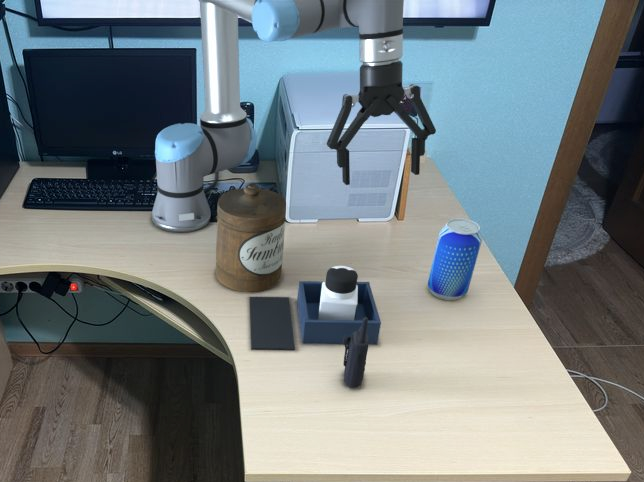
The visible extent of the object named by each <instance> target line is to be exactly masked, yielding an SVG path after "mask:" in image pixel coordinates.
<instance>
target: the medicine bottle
mask: <svg viewBox="0 0 644 482" xmlns="http://www.w3.org/2000/svg"><path fill="white" fill-rule="evenodd" d="M358 277H359V275H358V273H357V271H356V270H355V269H354V268H352V267H349V266H347V265H335V266H332V267H330V268H328V270H326V273H325V280H324V281H325V282H323V283H322V289H321V297H320V306H319V315H318V320H355V316H356V310H357V300H358V286H357V282H358Z"/></svg>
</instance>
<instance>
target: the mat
mask: <svg viewBox="0 0 644 482" xmlns="http://www.w3.org/2000/svg"><path fill="white" fill-rule="evenodd" d="M290 303H291V302H290V297H288V296H249V320H250V321H249V322H250V323H249V324H250V326H249V327H250V349H251V350H252V351H253V350H254V351H255V350H256V351H258V350H260V351H295V350H296V345H295V338H294V337H295V335H294V329H293V320H292V313H291V304H290Z"/></svg>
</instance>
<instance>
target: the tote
mask: <svg viewBox="0 0 644 482" xmlns="http://www.w3.org/2000/svg"><path fill="white" fill-rule="evenodd" d="M325 281H326V280H323V281H317V280H315V281H314V280H313V281H312V280H299V281H298V287H297V290H298V291H297V300H296V303H297V312H298V317H299V318H298V319H299V326H300V335H301V341H302V344H305V345H306V344H308V345H310V344H312V345H313V344H314V345H318V344H319V345H344V343H343V338H344V336H348V337H349V338H350V336H351V335H352V333H353V332H356V331H359V328H360V327H361V326H362V322H363V318H364V317H367V318H368V322H367V330H366V333H367V334H368V337H369V345H378V341H379V336H380V332H381V325H382V321H381V318H380V314H379V311H378V308H377V304H376V301H375V298H374V294H373V291H372V287H371V283H370V281H357V286H358V300H357V310H356V316H355V320H318V315H319V306H320V297H321V289H322V283H323V282H325Z"/></svg>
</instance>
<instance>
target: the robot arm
mask: <svg viewBox="0 0 644 482" xmlns="http://www.w3.org/2000/svg"><path fill="white" fill-rule="evenodd" d="M198 2H199V13H200V30H201V31H200V32H201V33H200V34H201V48H202V50H201V52H202V66H203V67H202V68H203V69H202V70H203V85H204V105H205V108H204V111H202V112H201V114H200V115H199V124H200V125H198V124H196V123H192V122H184V123H175V124H172V125H169V126H167V127H165V128H163V129H162V130H161V131H160V132H158V134H157V135H156V138H155V144H154V145H155V146H154V148H155V149H154V157H155V166H156V183H157V193H156V197H155V200H154V202H153V203H154V204H153V207H152V211H151V220H152V223H153V224H154V226H155V227H156V228H158V229H160V230H163V231H165V232H171V233H189V232H195V231H197V230H201V229H203V228H205V227H207V225H208V224H209V223H210V222H211V219H212V218H211V217H212V216H211V215H212V213H211V208H210V205H209V202H208V200H207V197H206V194H205V193H207V192H209V191H210V190H212V189H213V188H214V187H215V186H216V185H217V183H218V181H219V173H220V172H223V171H224V172H225V170H226V171H227V170H230V169H235V168H238V167H239V166H241V165H244V164H247V163H248V162H249V161H250V160H251V159H252V157H253V156H254V154H255V153H256V149H257V143H258V138H257V137H258V136H257V129H255V128H254V123H253V122H252V120H250V118H248V117H247V112H246V111H245V110H244V109H243V108H242V107H241V89H240V87H241V86H240V50H239V49H240V48H239V47H240V46H239V18H240V19H242V20H244V21H247V22H249V23H251V24H252V28H253V31H254V32H255V33H256V34H257V37H258V38H259V39H260V40H261V41H263V42H267V43H272V42H285V41H287V40H290V39H294V38H298V37H303V36H307V35H311V34H312V35H313V34H317V33H323V32H326V31H332V30H336V29H343V28H359V29H358V30H359V31H358V32H359V33H358V34H359V36H358V38H359V63H362V64H361V65H360V67H359V92H358V94H348V93H345V94H343V96H342V101H341V102H342V103H341V108H340V110H339V113H338V115H337V117H336V119H335V122H334V124H333V126H332V129H331V131H330V135H329V137H328V139H327V141H326V146H327V147H328V148H329V149H330V150H336V164H337V167H339V168H340V169H341V171H342V173H341V174H342V182H343V184H344V185H345V186H350V185H351V176H350V175H351V174H350V173H351V170H350V165H351V164H350V150H349V149H348V148H347V147H348V146H349V145H350V143H351V142H352V140H354V138H355V136H356V134H357V133H358V132H359V130H361V128H362V127H363V125H364V124H365V122H366V121H368V120H369V118H370V117H373V118H378V117H380V116H381V117H382V116H391V115H392V114H393V113H394V114H396V115H397V117H398V118H399V119H400V120H401V121H402V123H404V124H405V126H406V127H408V129H409V130H410V131H411V132H412V133H413V134H414V136H415V137H412V138H411V150H410V151H411V154H410V155H411V156H410V172H411V173H412V174H414V175H415V176H417V175H418V176H419V175H420V171H421V170H420V168H421V157H423V156H425V153H426V140H428V138H429V136H431V135H432V136H433V135H435V134H436V132H437V129H436V127H435V125H434V123H433V121H432V119H431V117H430V114H429V113H428V110H427V108H426V106H425V104H424V102H423V100H422V97H421V88H420V86H419V85H416V84H414V83H411V84H410V85H408V86H406V87H403V68H404V67H403V66H404V65H403V62H402V60H400V59H402V57H403V51H404V49H403V48H404V28H403V27H404V5H405V3H404V2H405V0H198ZM405 95H406V98H407V99H409V100H410V102H411V104H412V107H413V108H414V111H415V112H416V115H417V116H418V119H419V121H420V123H421V125H422V127H423V128H421V127H420V126H419V124H418V123H417V122H416V121H415V120H414V119H413V117H411V115H409V113H408V112H407V111H406V109H405V108H404V107H403V106H402V105H401V101H402V100H403V98H404V97H405ZM356 103H358V104H359V105H360V106H361V108H360V109H359V110H358V112H357V113H356V115H355V117H354V119H353V120H352V122H351V123H350V124H349V125H348V127H347V128H346V129H345V132H343V131H344V128H345V126H346V125H347V121H348V119H349V117H350V114H351V111H352V108H354V107H355V106H356ZM342 133H343V134H342ZM341 135H342V136H341ZM211 175H214V180H213V182H212V183H211V184H210V185H209V186H207V187H205V188H204V178H205V177H206V176H207V177H208V176H211Z"/></svg>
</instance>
